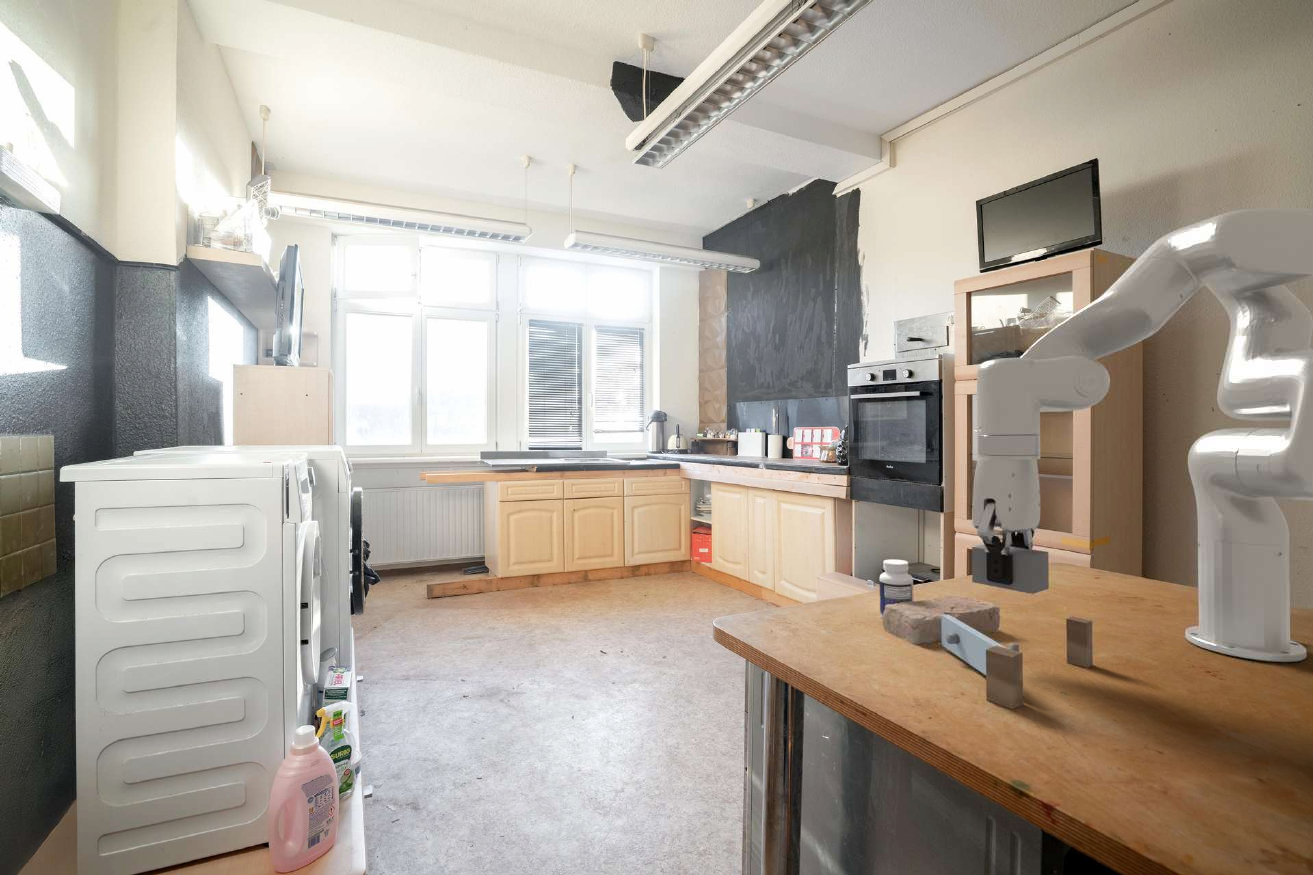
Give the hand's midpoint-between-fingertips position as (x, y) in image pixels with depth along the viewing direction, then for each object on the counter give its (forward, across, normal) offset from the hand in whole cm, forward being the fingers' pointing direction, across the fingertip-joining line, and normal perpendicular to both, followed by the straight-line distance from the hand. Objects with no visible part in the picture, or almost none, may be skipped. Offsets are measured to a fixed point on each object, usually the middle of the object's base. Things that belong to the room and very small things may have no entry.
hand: (1009, 578), depth 85 cm
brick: (+12, -4, -13) cm, 18 cm away
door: (+11, +8, -1) cm, 14 cm away
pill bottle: (+12, -5, -21) cm, 24 cm away
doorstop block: (+1, 0, 0) cm, 1 cm away
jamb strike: (+11, -6, +6) cm, 14 cm away
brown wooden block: (+11, +14, +6) cm, 19 cm away
